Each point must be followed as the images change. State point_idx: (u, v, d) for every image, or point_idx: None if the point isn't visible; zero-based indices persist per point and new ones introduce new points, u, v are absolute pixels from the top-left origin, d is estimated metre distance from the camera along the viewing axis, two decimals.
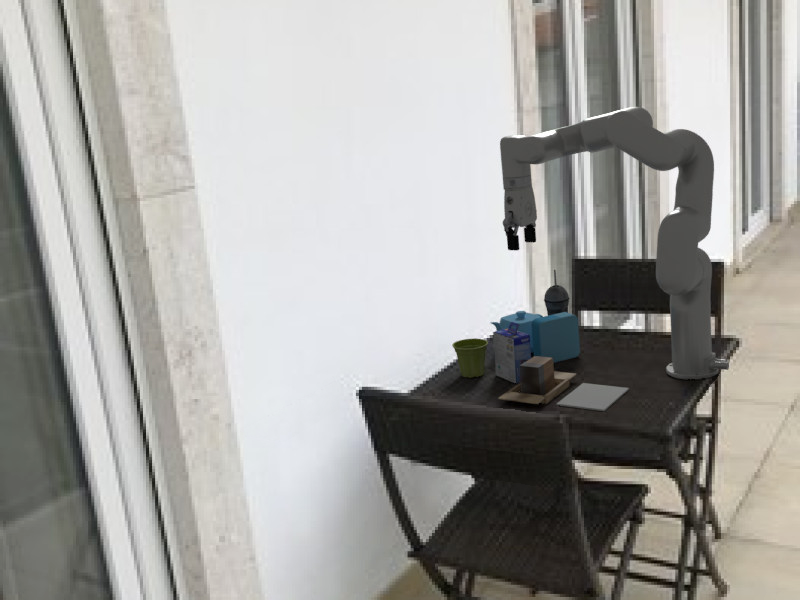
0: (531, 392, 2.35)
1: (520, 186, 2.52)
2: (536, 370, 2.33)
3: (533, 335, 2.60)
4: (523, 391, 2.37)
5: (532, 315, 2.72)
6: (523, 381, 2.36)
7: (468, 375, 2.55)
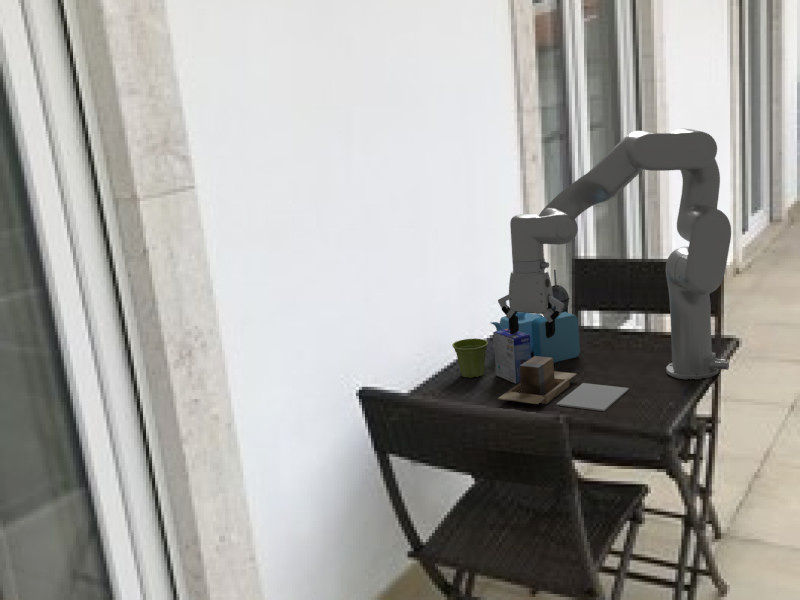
0: (531, 392, 2.35)
1: None
2: (536, 370, 2.33)
3: (533, 335, 2.60)
4: (523, 391, 2.37)
5: (532, 315, 2.72)
6: (523, 381, 2.36)
7: (468, 375, 2.55)
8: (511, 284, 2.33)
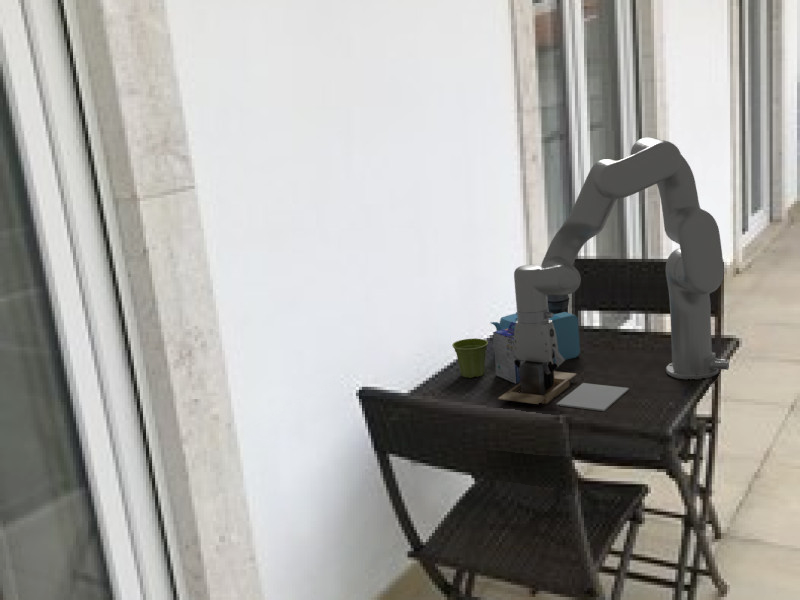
0: (531, 392, 2.35)
1: None
2: (536, 370, 2.33)
3: None
4: (523, 391, 2.37)
5: None
6: (523, 381, 2.36)
7: (468, 375, 2.55)
8: (516, 334, 2.36)
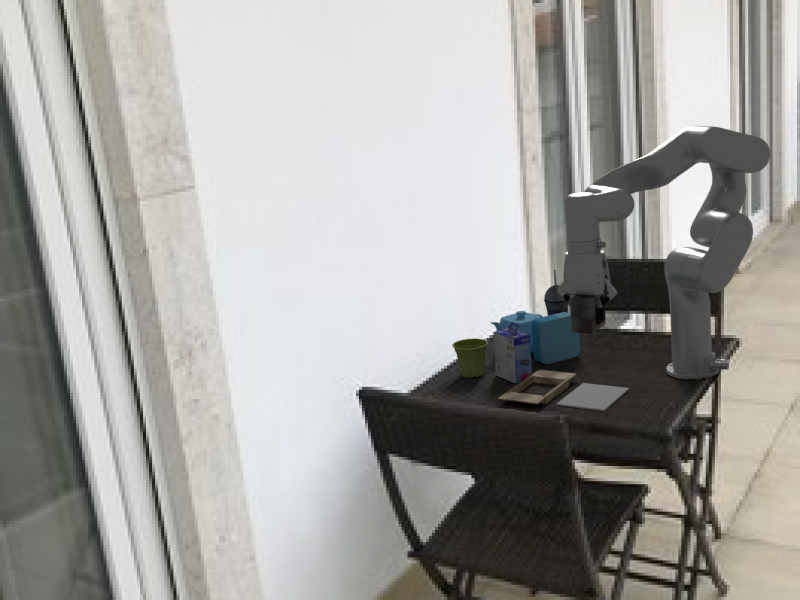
0: (582, 327, 2.24)
1: None
2: (588, 303, 2.21)
3: (533, 335, 2.60)
4: (573, 326, 2.25)
5: (532, 315, 2.72)
6: (573, 315, 2.24)
7: (468, 375, 2.55)
8: (566, 266, 2.24)
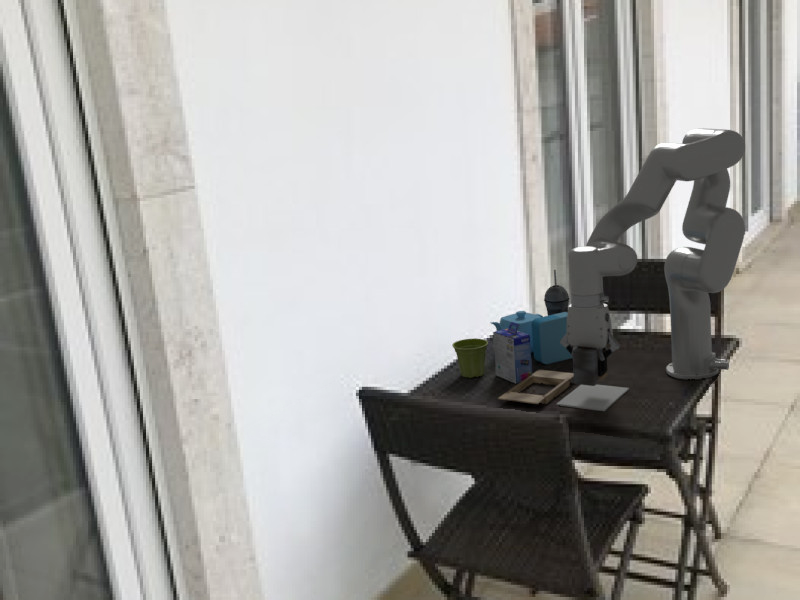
0: (584, 379, 2.27)
1: None
2: (590, 356, 2.24)
3: (533, 335, 2.60)
4: (575, 378, 2.28)
5: (532, 315, 2.72)
6: (576, 367, 2.27)
7: (468, 375, 2.55)
8: (569, 318, 2.27)
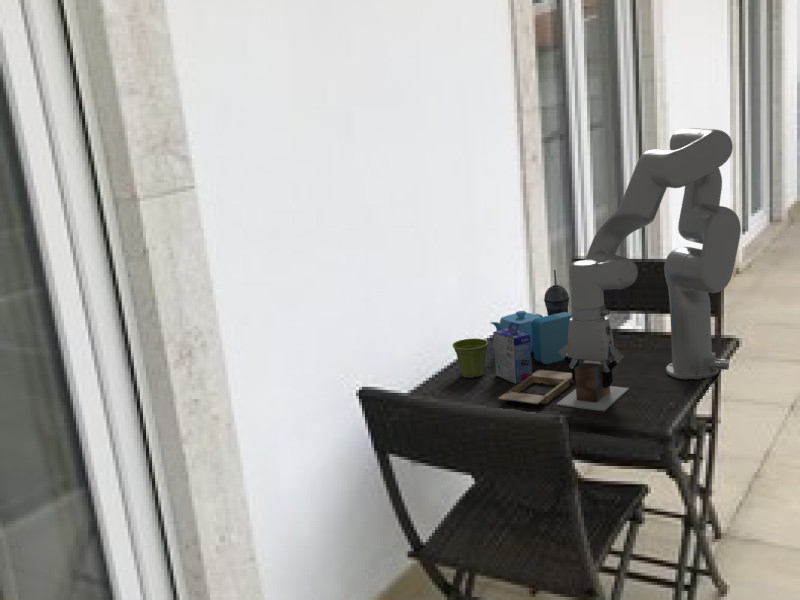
0: (586, 395, 2.28)
1: None
2: (592, 373, 2.25)
3: (533, 335, 2.60)
4: (578, 394, 2.29)
5: (532, 315, 2.72)
6: (578, 384, 2.28)
7: (468, 375, 2.55)
8: (570, 331, 2.28)
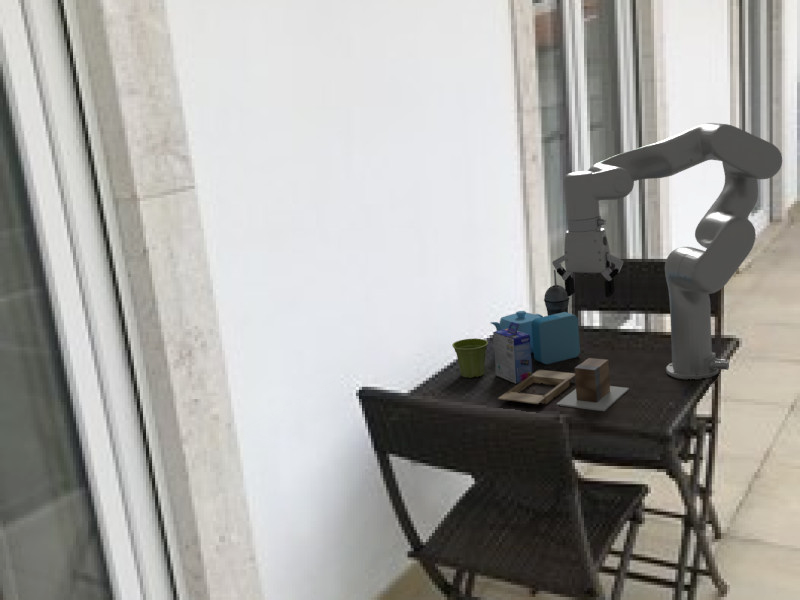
0: (586, 395, 2.28)
1: None
2: (592, 373, 2.25)
3: (533, 335, 2.60)
4: (578, 394, 2.29)
5: (532, 315, 2.72)
6: (578, 384, 2.28)
7: (468, 375, 2.55)
8: (567, 244, 2.27)
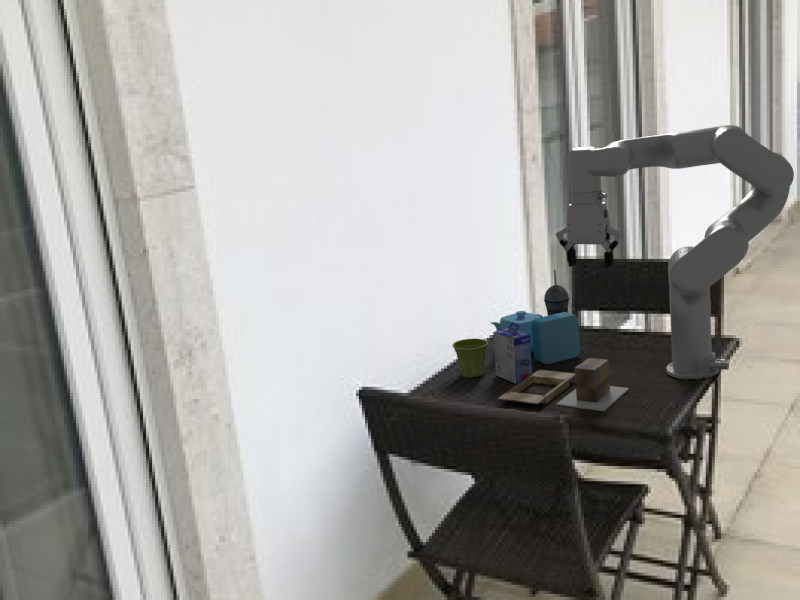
0: (586, 395, 2.28)
1: None
2: (592, 373, 2.25)
3: (533, 335, 2.60)
4: (578, 394, 2.29)
5: (532, 315, 2.72)
6: (578, 384, 2.28)
7: (468, 375, 2.55)
8: (569, 216, 2.38)
